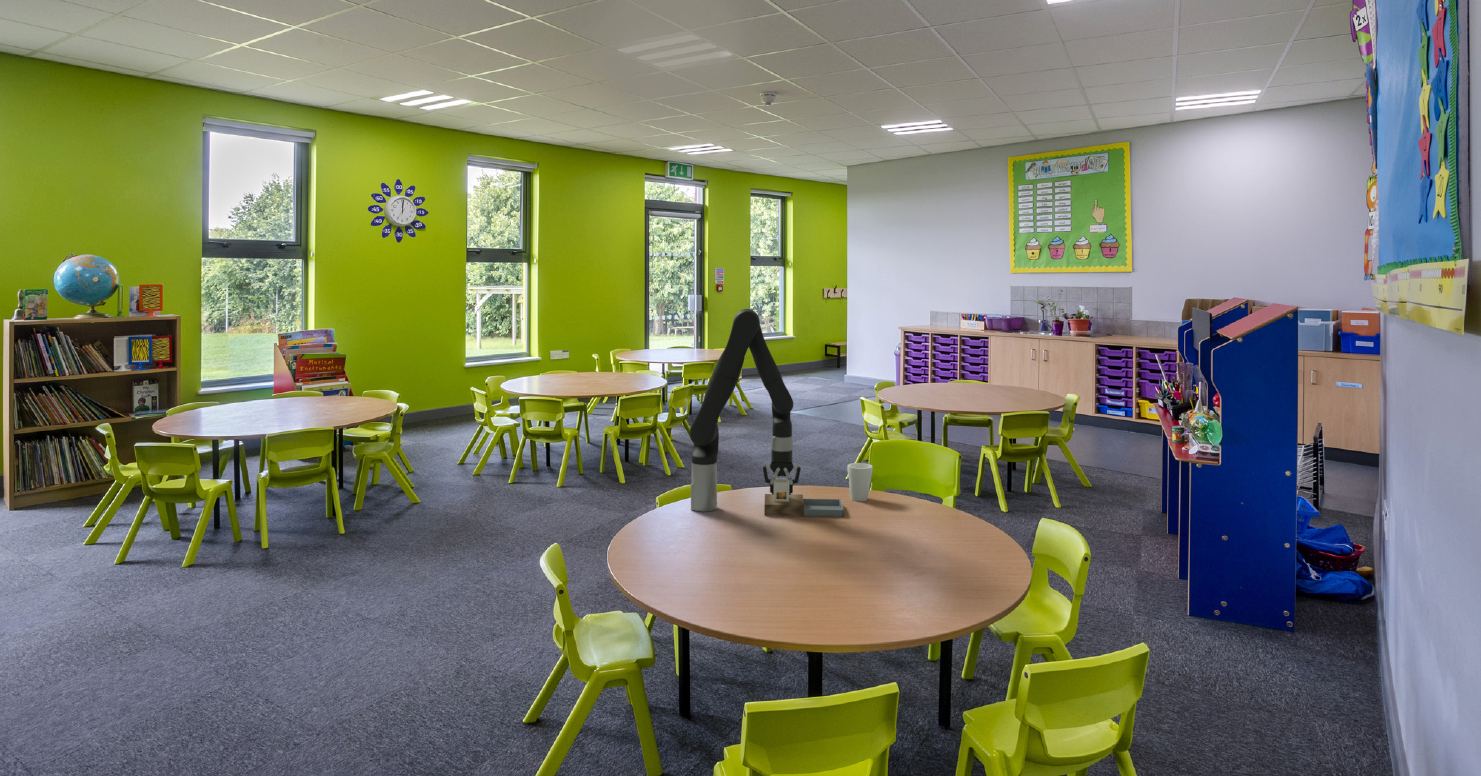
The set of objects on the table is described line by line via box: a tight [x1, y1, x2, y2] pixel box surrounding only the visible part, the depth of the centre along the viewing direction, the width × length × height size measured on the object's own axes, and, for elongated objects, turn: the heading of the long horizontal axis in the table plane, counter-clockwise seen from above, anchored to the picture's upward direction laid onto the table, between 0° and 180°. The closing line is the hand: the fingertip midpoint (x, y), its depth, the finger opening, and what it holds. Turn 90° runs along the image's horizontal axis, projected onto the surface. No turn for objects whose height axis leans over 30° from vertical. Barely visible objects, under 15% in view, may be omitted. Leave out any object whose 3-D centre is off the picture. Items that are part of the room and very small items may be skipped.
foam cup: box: [846, 462, 874, 502], centre depth 296 cm, size 10×9×13 cm
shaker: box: [773, 478, 789, 502], centre depth 281 cm, size 6×6×7 cm
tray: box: [803, 498, 845, 518], centre depth 281 cm, size 14×14×2 cm
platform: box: [763, 493, 805, 517], centre depth 282 cm, size 14×14×4 cm
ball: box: [777, 492, 785, 499], centre depth 281 cm, size 3×3×3 cm
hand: (781, 493), depth 281 cm, fingers closed on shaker, 5 cm apart
